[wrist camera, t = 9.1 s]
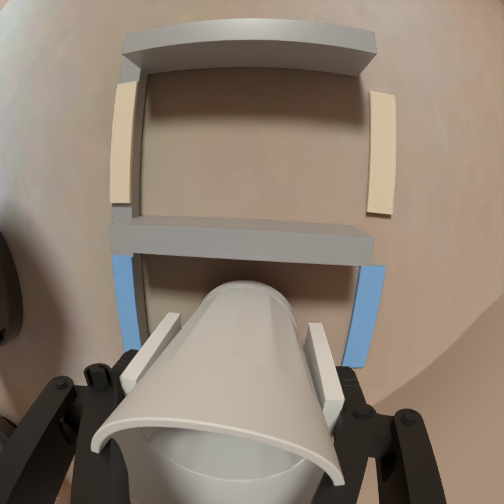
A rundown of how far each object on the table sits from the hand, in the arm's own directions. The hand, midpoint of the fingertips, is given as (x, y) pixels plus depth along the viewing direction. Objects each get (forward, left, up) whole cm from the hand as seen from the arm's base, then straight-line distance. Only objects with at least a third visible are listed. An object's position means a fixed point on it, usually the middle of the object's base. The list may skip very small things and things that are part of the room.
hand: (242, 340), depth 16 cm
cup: (0, 0, -2) cm, 2 cm away
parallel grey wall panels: (-1, +6, -3) cm, 7 cm away
